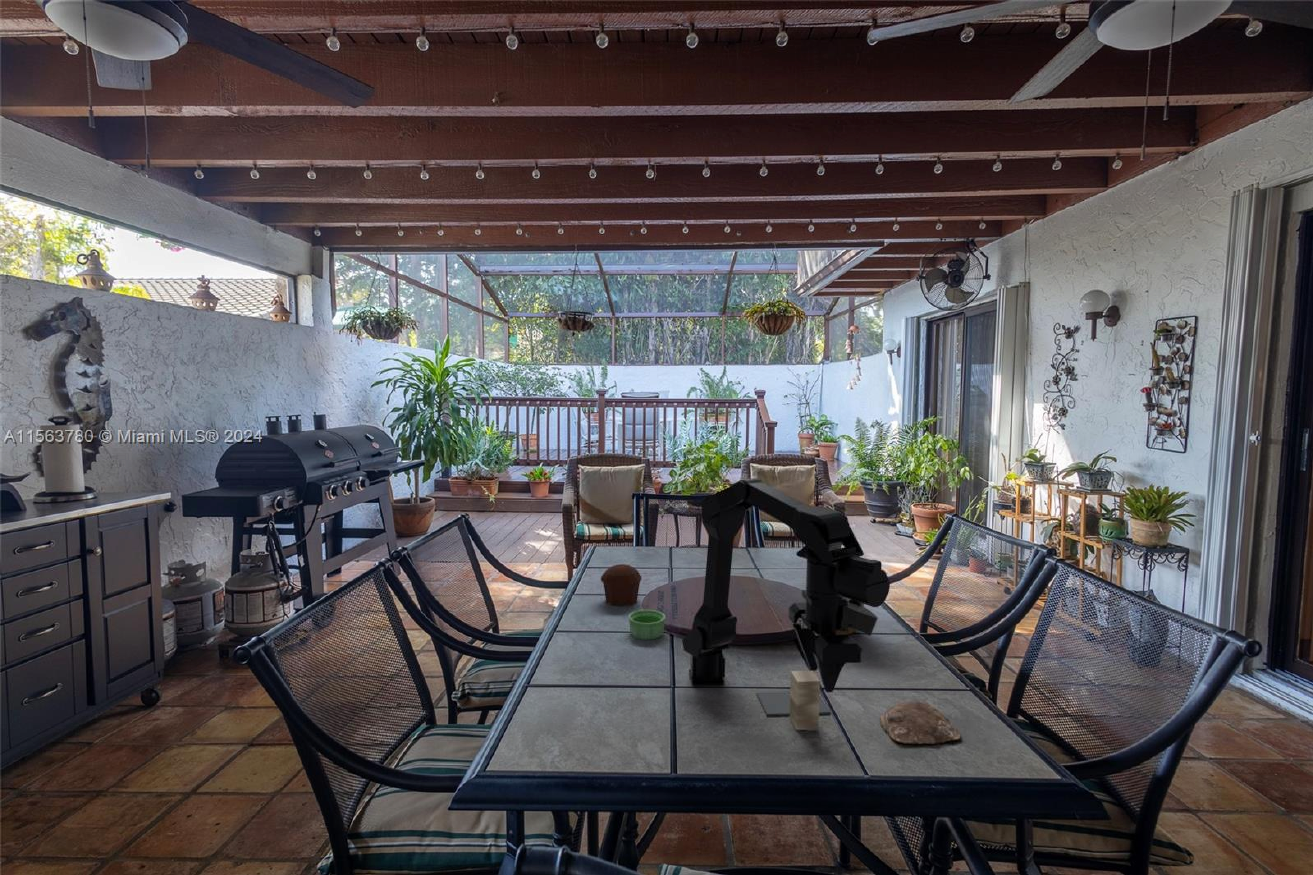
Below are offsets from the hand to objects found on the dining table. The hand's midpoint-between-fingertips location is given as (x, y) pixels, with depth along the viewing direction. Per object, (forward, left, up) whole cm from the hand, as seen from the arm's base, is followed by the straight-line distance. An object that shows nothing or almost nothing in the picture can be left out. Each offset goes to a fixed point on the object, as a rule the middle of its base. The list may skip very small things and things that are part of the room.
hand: (821, 680), depth 101 cm
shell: (+20, +6, -13) cm, 24 cm away
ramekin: (-26, +50, -12) cm, 58 cm away
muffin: (-32, +73, -12) cm, 81 cm away
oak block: (0, +8, -12) cm, 14 cm away
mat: (0, +15, -12) cm, 19 cm away
